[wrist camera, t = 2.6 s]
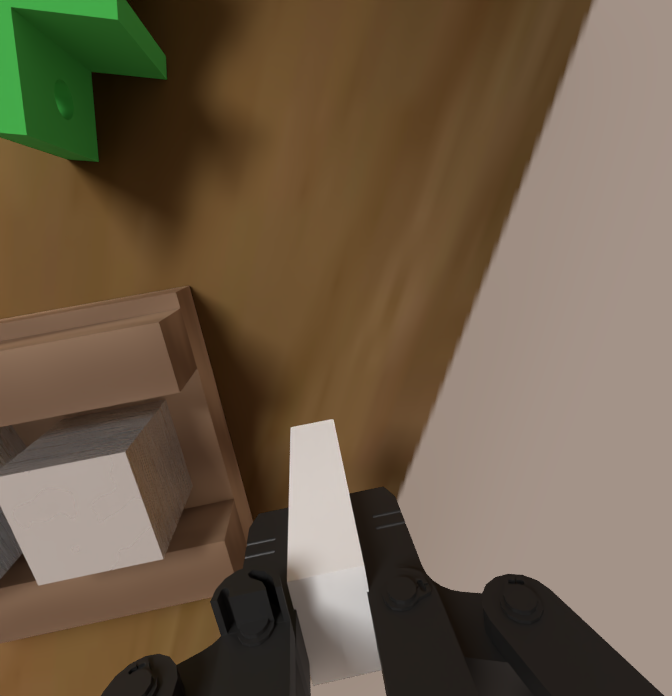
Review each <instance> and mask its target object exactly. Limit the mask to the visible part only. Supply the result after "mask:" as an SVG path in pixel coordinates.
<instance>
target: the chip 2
mask: <svg viewBox="0 0 672 696" xmlns="http://www.w3.org/2000/svg"><path fill="white" fill-rule="evenodd" d="M192 487H193V485H192V482H191V479H190V475H189V472H188V469H187V466H186V463H185V459H184V456H183V453H182V450H181V447H180V443H179V440H178V437H177V434H176V431H175V427H174V424H173V421H172V418H171V415H170V411H169V408H168V405H167V402H166V399H165V400H160V401H155V402H150V403H145V404H139V405H134V406H129V407H124V408H119V409H114V410H108V411H103V412H98V413H93V414H88V415H82V416H77V417H72V418H67V419H62V420H61V421H60V422H58V423H57V424H56V425H55V426H53V427H52V428H51V429H50V430H48V431H47V432H46V433H45V434H43V435H42V436H41V437H40V438H38V439H37V440H36V441H35V442H33V443H32V444H31V445H30V446H28V447H27V448H26V449H25V450H23V451H22V452H21V453H20V454H18V455H17V456H16V457H15V458H13V459H12V460H11V461H10V462H8V463H7V464H6V465H5V466H3V467H2V468H1V469H0V506H1V508H2V510H3V513H4V515H5V517H6V519H7V521H8V523H9V525H10V527H11V529H12V531H13V533H14V536H15V538H16V540H17V542H18V544H19V546H20V548H21V550H22V552H23V554H24V556H25V559H26V561H27V563H28V565H29V567H30V569H31V571H32V573H33V575H34V577H35V580H36V582H37V584H38V586H39V585H44V584H48V583H53V582H58V581H63V580H67V579H72V578H77V577H81V576H86V575H91V574H96V573H100V572H105V571H110V570H114V569H119V568H124V567H129V566H133V565H138V564H143V563H147V562H152V561H157V560H162V559H164V557H165V554H166V552H167V549H168V547H169V544H170V542H171V539H172V537H173V534H174V532H175V529H176V527H177V524H178V522H179V519H180V517H181V514H182V512H183V509H184V507H185V504H186V502H187V499H188V497H189V494H190V492H191V489H192Z"/></svg>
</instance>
